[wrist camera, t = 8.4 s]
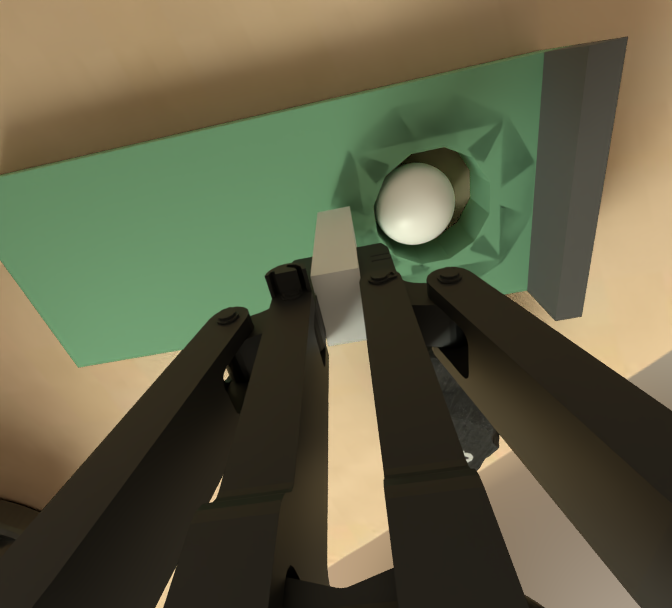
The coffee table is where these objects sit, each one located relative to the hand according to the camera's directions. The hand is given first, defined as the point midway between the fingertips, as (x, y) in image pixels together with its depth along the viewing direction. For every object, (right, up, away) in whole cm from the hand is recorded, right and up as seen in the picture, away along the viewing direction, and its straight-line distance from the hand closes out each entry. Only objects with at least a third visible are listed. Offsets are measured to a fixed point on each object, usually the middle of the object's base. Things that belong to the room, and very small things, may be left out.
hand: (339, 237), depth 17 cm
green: (-3, +2, +4) cm, 5 cm away
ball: (+4, +2, +1) cm, 4 cm away
